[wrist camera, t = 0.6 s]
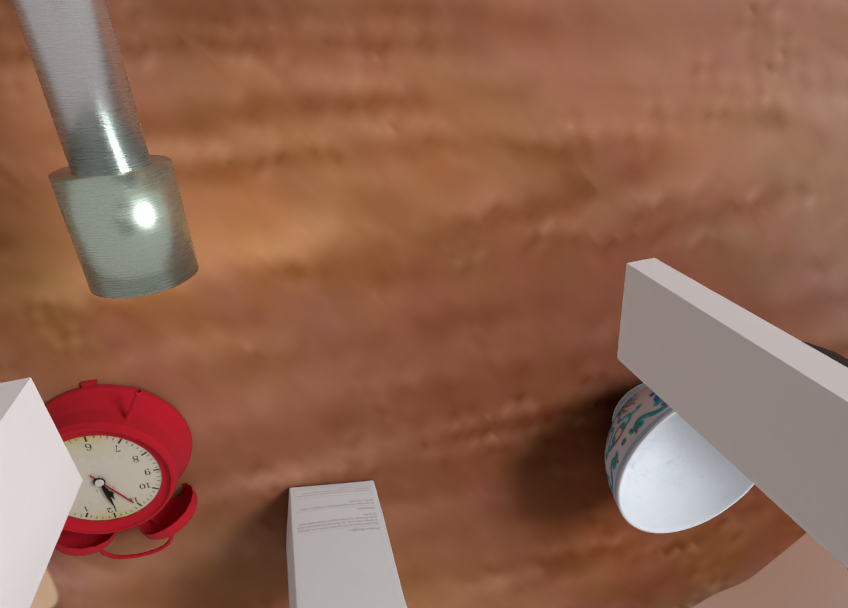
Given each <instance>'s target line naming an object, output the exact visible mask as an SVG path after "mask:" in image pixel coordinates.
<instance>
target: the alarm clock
mask: <svg viewBox="0 0 848 608" xmlns="http://www.w3.org/2000/svg"><path fill="white" fill-rule="evenodd" d="M96 380H97V379H95V380H88V381H82V382H81V383H80V384H81V386H82V388H78V389H75V390H72V391H69V392H66V393H64V394H62V395H60V396H58V397H56V398H54V399H53V400H51V401H49V402H48V403H47V404H46V405H45V407H46V408H47V410H48V412H49V414H50V416H51V418H52V420H53V422H54V424H55V426H56V428H57V430H58V432H59V434H60V436H61V438H62V440H63V442H64V444H65V446H66V448H67V450H68V452H69V454H70V456H71V458H72V460H73V462H74V464H75V466H76V468H77V470H78V472H79V474H80V476H81V478H82V480H83V481H82V483H81V486H80V488H79V490H78V493H77V495H76V498H75V500H74V502H73V505H72V507H71V510H70V512H69V515H68V517H67V519H66V522H65V524H64V527H63V529H62V531H61V534H60V536H59V539H58V541H57V543H56V546H55V548H56V549H57V550H58V551H60V552H62V553H64V554H67V555H73V556H84V555H89V554H92V553H95V552H98V551H99V552H100V553H101V554H103V555H105V556H107V557H110V558H114V559H128V558H137V557H142V556H146V555H150V554H153V553H156V552H158V551H160V550H162V549H164V548H166V547H167V546H168V545H169V544H170V543H171V541H172V539H173V534H175V533H176V532H178V531H179V530H180V529H182V528H183V527H184V526H185V525H186V524H187V523H188V522H189V520H190V519H191V518H192V516H193V514H194V513H195V510H196V507H197V494H196V492H195V491H194V489H193V488H192V486H190V485H188V484H187V483H185V484H182V485H183V486H184V487H185V491H184V492H183V493H182V494H181V495H179V496H178V497H175V498H172V499H170V498H171V497H172V495H173V493H174V490H175V487H176V484H177V479H178V478H179V477H180V476H181V475H182V473H183V472H184V470H185V469H186V467H187V465H188V463H189V460H190V456H191V451H192V437H191V432H190V429H189V427H188V425H187V423H186V421H185V419H184V418H183V417H182V415H181V414H180V413H179V412H178V411H177V410H176V409H175V408H174V407H173V406H172V405H170V404H169V403H168V402H166V401H165V400H163V399H162V398H160V397H158V396H156V395H154V394H152V393H149V392H147V391H144V390H140V389H137V388H133V387H127V386H121V385H97V382H96ZM138 525H140V531H141V532H142V533H143V534H144V535H145V536H146V537H148V538H150V539H164V538H167V537H169V536H170V537H169V540H168V542H166V543H165V544H164V545H163V546H161V547H159V548H157V549H154V550H151V551H148V552H144V553H139V554H132V555H114V554H111V553H108V552H106V551H104V550H103V548H105V547H106V546H107V545H109V544H110V542H111V541H112V540H113V539H114V537H115V535H116V533H117V532H120V531H124V530H127V529H131V528H134V527H136V526H138Z"/></svg>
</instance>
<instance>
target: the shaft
mask: <svg viewBox="0 0 848 608" xmlns="http://www.w3.org/2000/svg"><path fill="white" fill-rule="evenodd" d="M11 1H12V4H13V7H14V10H15V12H16V15H17V18H18V21H19V24H20V27H21V30H22V33H23V36H24V38H25V41H26V44H27V47H28V50H29V53H30V56H31V59H32V61H33V64H34V67H35V70H36V73H37V76H38V79H39V82H40V84H41V87H42V90H43V93H44V96H45V99H46V102H47V105H48V107H49V110H50V113H51V116H52V119H53V122H54V125H55V128H56V131H57V133H58V136H59V139H60V142H61V145H62V148H63V151H64V154H65V156H66V159H67V162H68V165H69V166H67V167H64V168H61V169H58V170H56V171H54V172H52V173H51V174H49V176H48V177H49V180H50V183H51V185H52V188H53V191H54V194H55V196H56V199H57V202H58V204H59V207H60V210H61V213H62V215H63V218H64V221H65V223H66V226H67V229H68V232H69V234H70V237H71V240H72V242H73V245H74V248H75V251H76V253H77V256H78V259H79V261H80V264H81V267H82V270H83V272H84V275H85V278H86V280H87V283H88V286H89V289H90V291H91V292H92V293H93V294H94V295H96V296H99V297H104V298H114V299H115V298H132V297H139V296H145V295H150V294H154V293H157V292H161V291H164V290H167V289H170V288H172V287H175V286H177V285H179V284H181V283H183V282H185V281H187V280H188V279H190V278H191V277H192V276H194V275H195V274H196V272H197V271H198V268H199V266H198V262H197V258H196V254H195V250H194V246H193V243H192V239H191V235H190V231H189V227H188V223H187V219H186V216H185V212H184V208H183V204H182V200H181V196H180V192H179V188H178V185H177V181H176V177H175V173H174V169H173V165H172V161H171V159H170V158H169V157H166V156H160V155H149V153H148V149H147V146H146V142H145V138H144V135H143V131H142V127H141V124H140V120H139V117H138V113H137V109H136V106H135V102H134V98H133V95H132V91H131V88H130V84H129V80H128V77H127V73H126V69H125V66H124V62H123V59H122V55H121V51H120V48H119V44H118V41H117V37H116V33H115V30H114V26H113V22H112V19H111V15H110V12H109V8H108V4H107V1H106V0H11Z"/></svg>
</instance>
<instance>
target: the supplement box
mask: <svg viewBox="0 0 848 608" xmlns="http://www.w3.org/2000/svg"><path fill="white" fill-rule="evenodd" d="M286 552H287V569H288V587H289V607H290V608H407V606H406V603H405V600H404V596H403V592H402V589H401V585H400V581H399V577H398V573H397V569H396V565H395V561H394V557H393V553H392V549H391V545H390V541H389V537H388V533H387V529H386V525H385V521H384V518H383V514H382V510H381V506H380V503H379V499H378V496H377V491H376V488H375V485H374V481H372V480H371V481H361V482H351V483H339V484H328V485H316V486H304V487H293V488H289V501H288V517H287V539H286Z"/></svg>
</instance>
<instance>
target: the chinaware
mask: <svg viewBox="0 0 848 608" xmlns="http://www.w3.org/2000/svg"><path fill="white" fill-rule="evenodd" d="M605 467H606V474H607V478H608V483H609V486H610V489H611V492H612V495H613V497H614V500H615V502H616V504H617V506H618V508H619V510H620V512H621V514H622V516H623V517H624V518H625V519H626V521H627V522H628V523H630V524H631V525H632V526H634V527H635V528H637V529H640V530H642V531H646V532H651V533H670V532H677V531H681V530H685V529H688V528H691V527H694V526H697V525H699V524H701V523H704V522H706V521H708V520H710V519H711V518H713V517H715V516H717V515H718V514H720V513H722V512H723V511H725V510H726V509H727V508H729V507H730V506H732V505H733V504H734V503H735V502H737V501H738V500H739V499H740V498H741V497H742V496H743V495H744V494H745V493H747V492H748V490H749V489H750V488H751V487H752V486H753V485H754V483H753V482H751V481H750V480H749V479H748V478H747V477H746V476H745V475H744V474H743V473H742V472H740V471H739V470H738V469H737V468H736V467H735V466H734V465H733V464H732V463H731V462H730V461H728V460H727V459H726V458H725V457H724V456H723V455H722V454H721V453H720V452H719V451H718V450H716V449H715V448H714V447H713V446H712V445H711V444H710V443H709V442H708V441H707V440H706V439H704V438H703V437H702V436H701V435H700V434H699V433H698V432H697V431H696V430H695V429H694V428H692V427H691V426H690V425H689V424H688V423H687V422H686V421H685V420H684V419H683V418H682V417H680V416H679V415H678V414H677V413H676V412H675V411H674V410H673V409H672V408H671V407H670V406H668V405H667V404H666V403H665V402H664V401H663V400H662V399H661V398H660V397H659V396H658V395H656V394H655V393H654V392H653V391H652V390H651V389H650V388H649V387H648V386H647V385H646V384H644V383H642V384H640V385H638V386H636V387H634V388H633V389H631V390H630V391H629V392H627V393H626V394H625V395H624V396H623V397H622V398H621V400H620V401H619V402H618V404H617V406H616V408H615V410H614V413H613V417H612V425H611V427H610V430H609V433H608V436H607V441H606V447H605Z"/></svg>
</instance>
